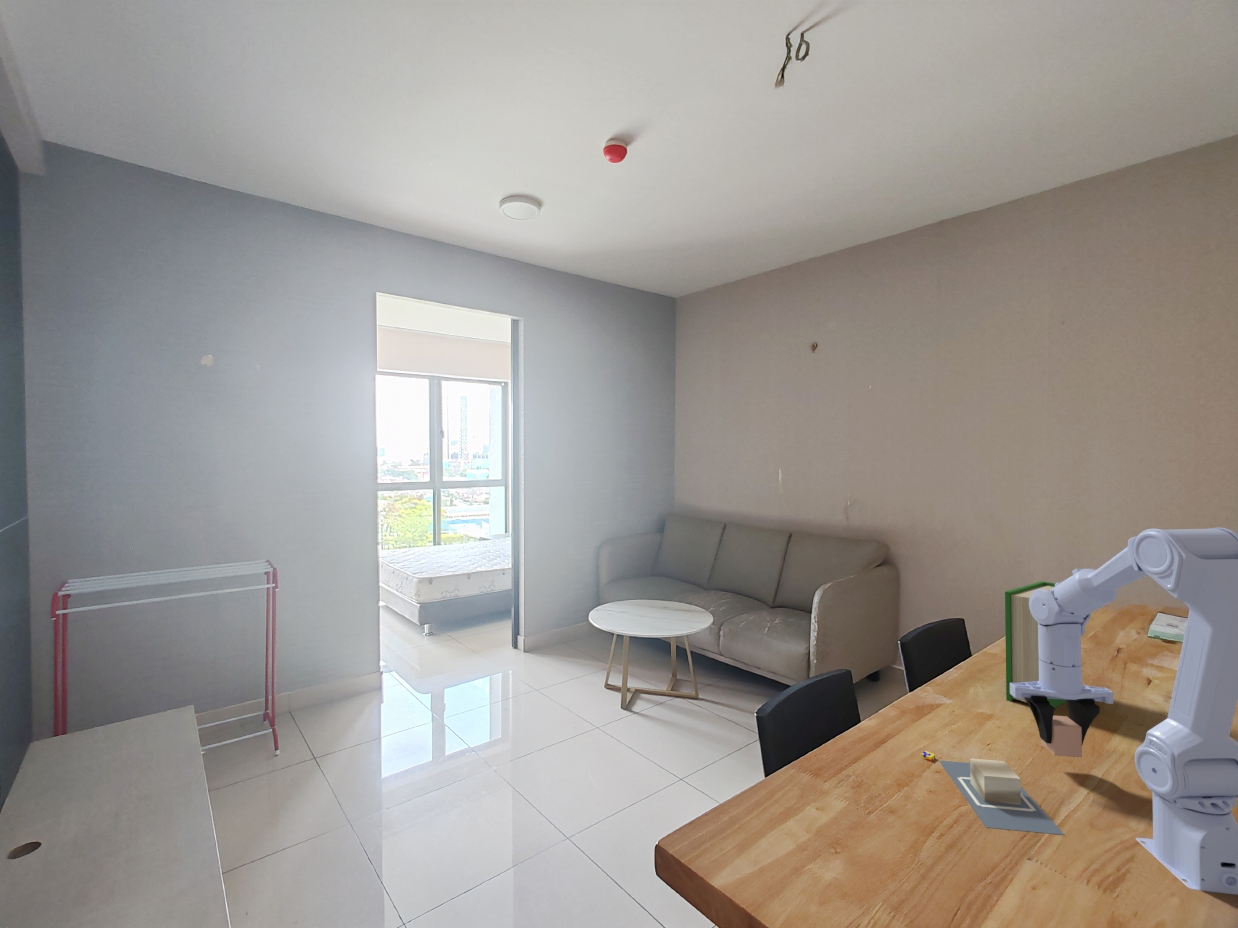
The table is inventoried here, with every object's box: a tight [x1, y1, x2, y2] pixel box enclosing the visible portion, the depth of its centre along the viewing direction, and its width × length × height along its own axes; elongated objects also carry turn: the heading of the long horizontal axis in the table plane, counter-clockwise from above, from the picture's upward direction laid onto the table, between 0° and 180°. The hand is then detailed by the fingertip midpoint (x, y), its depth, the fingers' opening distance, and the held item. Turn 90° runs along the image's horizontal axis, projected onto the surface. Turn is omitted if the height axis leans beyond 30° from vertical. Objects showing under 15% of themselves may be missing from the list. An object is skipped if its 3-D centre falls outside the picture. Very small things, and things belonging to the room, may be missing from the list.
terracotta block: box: [1040, 715, 1083, 758], centre depth 94 cm, size 4×4×5 cm
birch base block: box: [969, 758, 1022, 805], centre depth 88 cm, size 5×5×4 cm
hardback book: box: [1004, 580, 1067, 709], centre depth 124 cm, size 18×7×24 cm, turn 122°
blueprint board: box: [938, 760, 1066, 836], centre depth 88 cm, size 18×10×1 cm, turn 169°
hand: (1061, 741), depth 94 cm, fingers closed on terracotta block, 4 cm apart
